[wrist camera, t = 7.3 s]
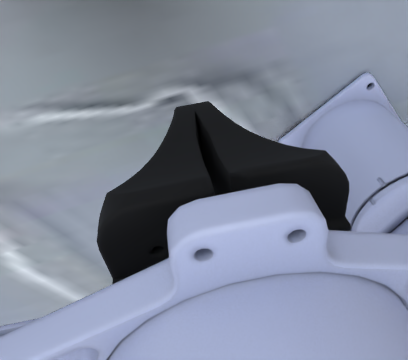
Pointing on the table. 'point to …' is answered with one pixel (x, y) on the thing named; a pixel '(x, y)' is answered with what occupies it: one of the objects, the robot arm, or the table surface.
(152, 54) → the table surface
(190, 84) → the table surface
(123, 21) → the table surface
